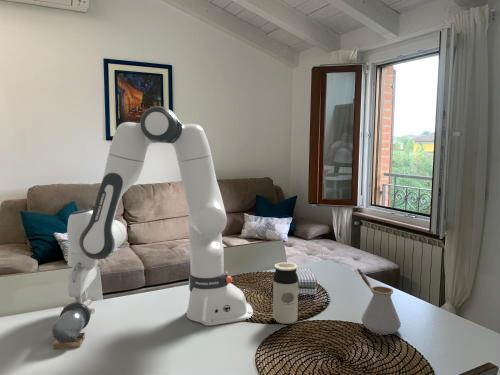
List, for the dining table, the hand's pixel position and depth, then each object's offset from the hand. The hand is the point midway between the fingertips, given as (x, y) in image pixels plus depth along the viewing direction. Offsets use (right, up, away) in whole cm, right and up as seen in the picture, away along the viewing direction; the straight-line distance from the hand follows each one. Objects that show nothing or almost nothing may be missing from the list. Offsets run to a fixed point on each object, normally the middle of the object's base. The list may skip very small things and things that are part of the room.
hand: (83, 299), depth 127 cm
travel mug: (+66, -6, 0) cm, 67 cm away
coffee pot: (+94, -7, -3) cm, 94 cm away
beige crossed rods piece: (+1, -6, -4) cm, 8 cm away
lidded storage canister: (+3, -7, -15) cm, 17 cm away
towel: (+73, -4, +28) cm, 78 cm away
